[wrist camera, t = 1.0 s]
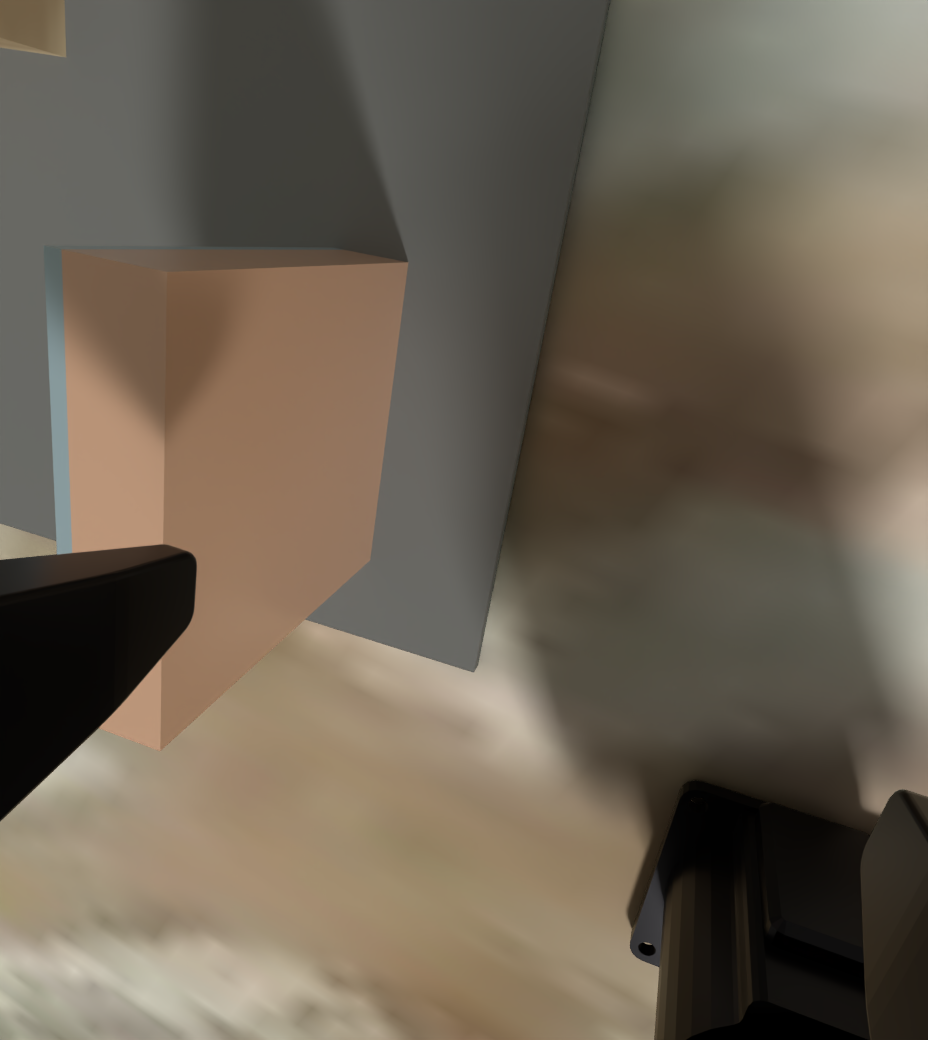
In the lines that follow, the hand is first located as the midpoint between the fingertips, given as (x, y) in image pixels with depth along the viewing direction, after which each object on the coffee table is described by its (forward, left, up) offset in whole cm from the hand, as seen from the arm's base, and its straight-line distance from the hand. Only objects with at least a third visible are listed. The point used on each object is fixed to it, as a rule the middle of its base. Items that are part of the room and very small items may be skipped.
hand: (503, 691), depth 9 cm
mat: (+2, +11, -11) cm, 16 cm away
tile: (0, +7, -11) cm, 13 cm away
